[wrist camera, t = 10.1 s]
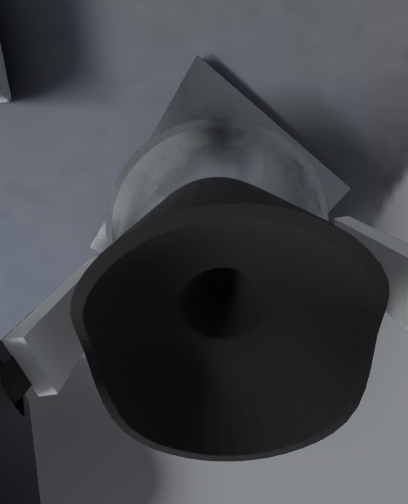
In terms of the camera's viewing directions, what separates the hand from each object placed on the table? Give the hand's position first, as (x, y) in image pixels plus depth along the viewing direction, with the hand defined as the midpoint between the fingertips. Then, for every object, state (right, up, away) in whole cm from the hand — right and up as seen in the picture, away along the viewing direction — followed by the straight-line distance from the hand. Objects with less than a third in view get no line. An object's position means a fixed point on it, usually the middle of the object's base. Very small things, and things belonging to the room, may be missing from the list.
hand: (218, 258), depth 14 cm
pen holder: (0, +1, +2) cm, 3 cm away
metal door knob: (0, +4, +9) cm, 10 cm away
